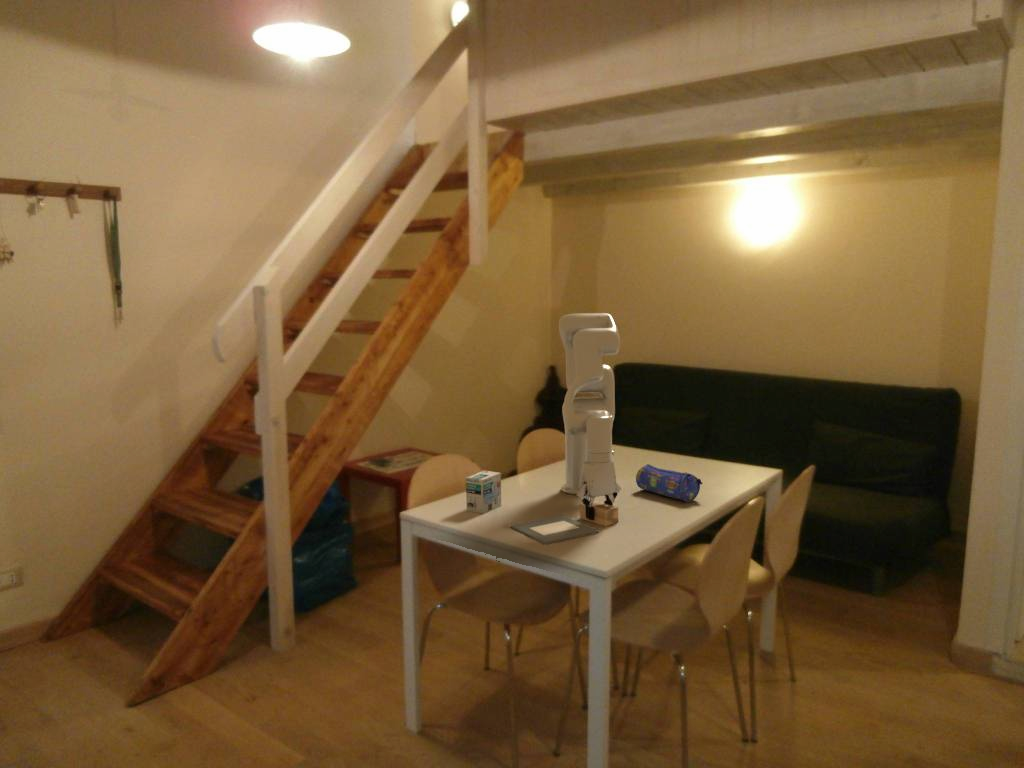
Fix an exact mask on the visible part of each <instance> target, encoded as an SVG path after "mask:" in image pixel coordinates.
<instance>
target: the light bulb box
mask: <svg viewBox="0 0 1024 768" xmlns="http://www.w3.org/2000/svg"><path fill="white" fill-rule="evenodd" d="M465 494H466V495H465V497H466V511H467V512H472V513H477V514H478V513H479V514H486V513H488V512H490V511H493V510H495V509H497V508H499V507H501V506H502V473H501V472H498V471H497V472H496V471H490V470H482V471H479V472H477V473H474V474H471V475H469V476H466V477H465Z"/></svg>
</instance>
